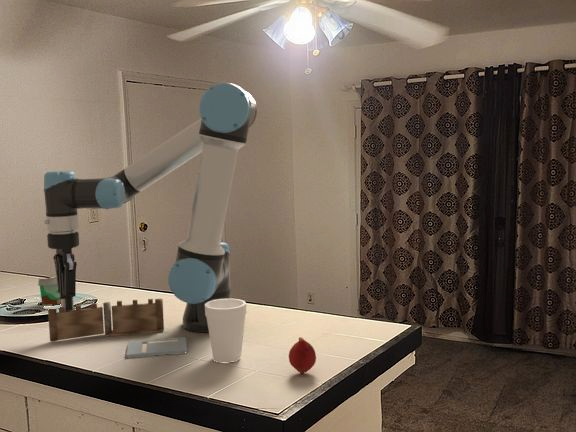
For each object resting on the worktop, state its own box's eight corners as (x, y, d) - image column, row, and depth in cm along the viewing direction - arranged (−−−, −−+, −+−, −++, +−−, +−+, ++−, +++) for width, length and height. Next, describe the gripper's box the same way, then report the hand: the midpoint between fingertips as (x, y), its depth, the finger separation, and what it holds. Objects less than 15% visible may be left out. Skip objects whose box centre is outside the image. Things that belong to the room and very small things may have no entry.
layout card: (185, 340, 149) (185, 336, 149) (186, 353, 140) (186, 349, 140) (129, 344, 147) (129, 340, 147) (126, 358, 137) (126, 354, 137)
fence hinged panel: (103, 332, 156) (101, 301, 155) (104, 334, 154) (102, 303, 153) (49, 339, 150) (47, 308, 149) (50, 341, 148) (48, 310, 147)
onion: (315, 367, 129) (314, 332, 128) (317, 378, 123) (316, 341, 122) (288, 368, 128) (287, 333, 128) (289, 379, 123) (288, 342, 122)
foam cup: (227, 348, 142) (225, 296, 141) (255, 357, 136) (254, 302, 135) (198, 360, 135) (196, 305, 133) (226, 369, 129) (224, 311, 127)
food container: (58, 311, 178) (55, 279, 177) (39, 311, 180) (37, 279, 179) (80, 301, 190) (78, 271, 189) (62, 300, 192) (61, 270, 191)
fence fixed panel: (164, 327, 160) (162, 296, 159) (163, 332, 156) (162, 300, 155) (105, 332, 157) (104, 300, 156) (104, 336, 153) (102, 304, 152)
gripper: (41, 230, 152) (47, 318, 155) (53, 236, 142) (59, 330, 145) (71, 227, 156) (76, 313, 159) (85, 233, 146) (90, 325, 149)
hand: (68, 321), depth 152 cm, fingers closed
